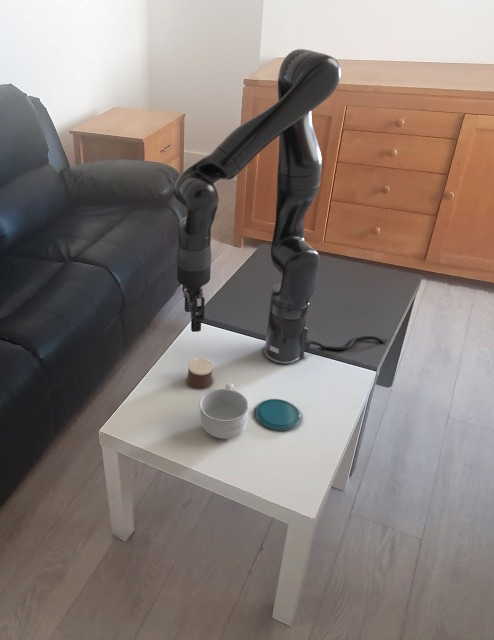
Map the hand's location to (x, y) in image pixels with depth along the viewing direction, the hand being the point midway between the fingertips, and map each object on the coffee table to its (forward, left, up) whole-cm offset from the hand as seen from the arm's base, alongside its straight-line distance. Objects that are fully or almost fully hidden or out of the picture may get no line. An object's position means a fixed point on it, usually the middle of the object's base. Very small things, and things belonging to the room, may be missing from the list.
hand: (192, 320), depth 142 cm
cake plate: (-18, +16, -19) cm, 30 cm away
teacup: (-5, +17, -19) cm, 26 cm away
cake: (-2, +1, -19) cm, 19 cm away
